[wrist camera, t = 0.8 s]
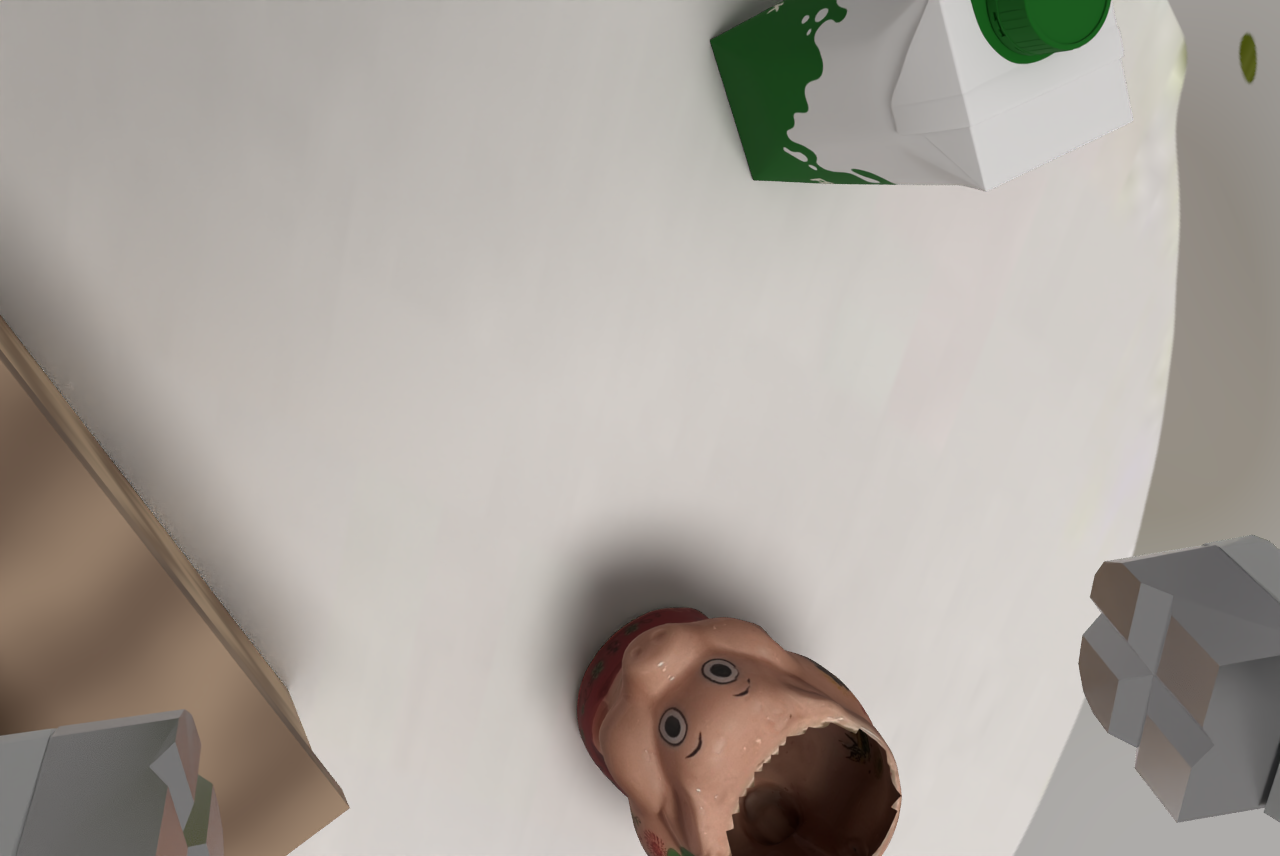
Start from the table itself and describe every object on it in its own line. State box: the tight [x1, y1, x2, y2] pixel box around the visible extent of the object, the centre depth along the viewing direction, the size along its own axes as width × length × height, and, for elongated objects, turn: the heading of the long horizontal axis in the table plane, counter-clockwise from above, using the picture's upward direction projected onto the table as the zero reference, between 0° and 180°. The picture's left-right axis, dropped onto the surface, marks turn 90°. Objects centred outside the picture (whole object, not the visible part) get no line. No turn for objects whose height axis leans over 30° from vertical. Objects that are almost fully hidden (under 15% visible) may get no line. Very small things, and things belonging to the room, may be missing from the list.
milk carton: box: [710, 0, 1133, 192], centre depth 52 cm, size 9×9×20 cm
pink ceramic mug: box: [577, 607, 902, 856], centre depth 59 cm, size 20×12×14 cm, turn 44°
